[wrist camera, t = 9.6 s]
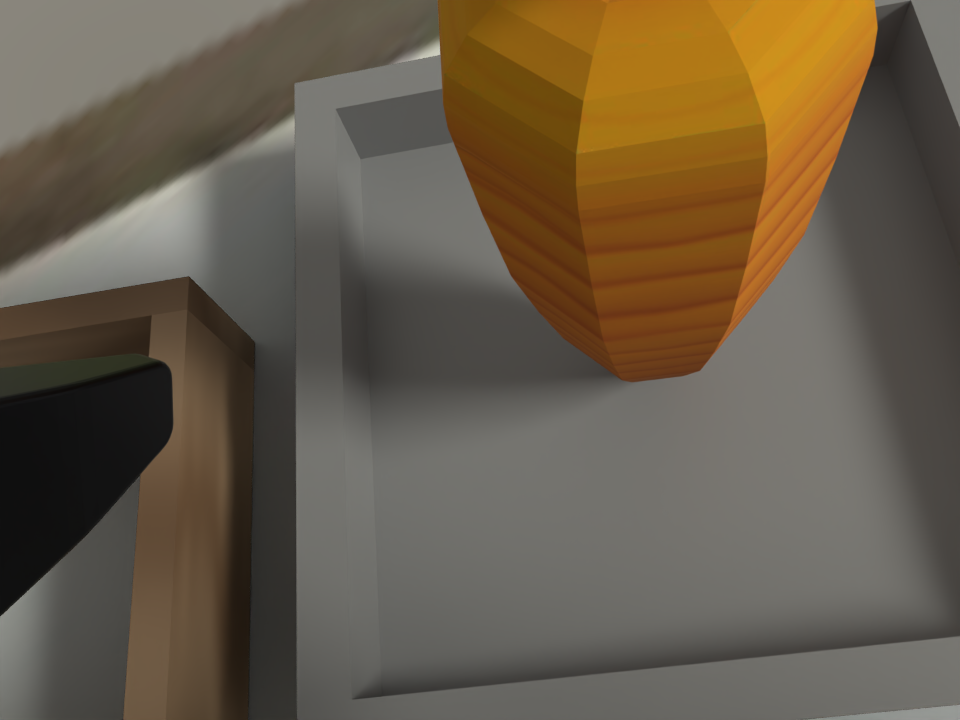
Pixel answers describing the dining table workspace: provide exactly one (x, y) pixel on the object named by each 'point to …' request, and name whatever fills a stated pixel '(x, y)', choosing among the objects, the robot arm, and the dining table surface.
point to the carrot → (650, 155)
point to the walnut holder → (174, 487)
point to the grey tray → (626, 440)
